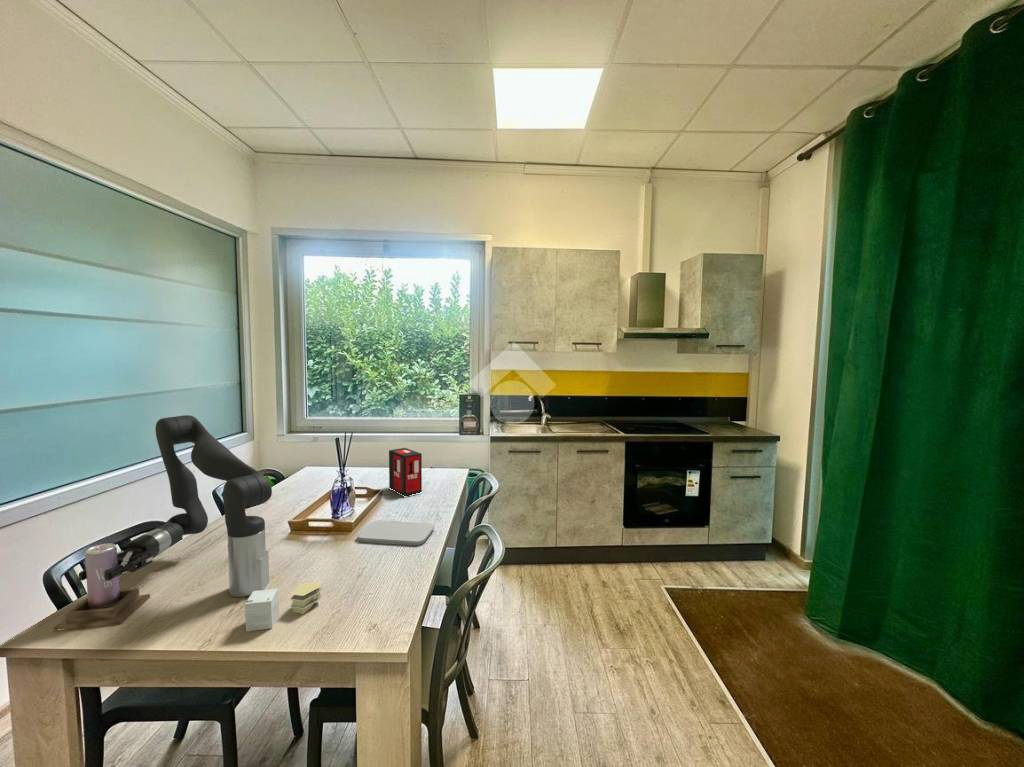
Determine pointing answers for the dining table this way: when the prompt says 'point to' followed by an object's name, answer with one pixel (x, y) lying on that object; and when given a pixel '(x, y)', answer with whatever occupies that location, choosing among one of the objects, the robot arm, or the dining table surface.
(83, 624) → the can holder
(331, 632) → the dining table surface
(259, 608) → the skincare box
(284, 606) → the dining table surface
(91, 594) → the beverage can
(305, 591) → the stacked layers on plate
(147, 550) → the robot arm
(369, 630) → the dining table surface
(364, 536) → the tablet
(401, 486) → the cleaning product box
